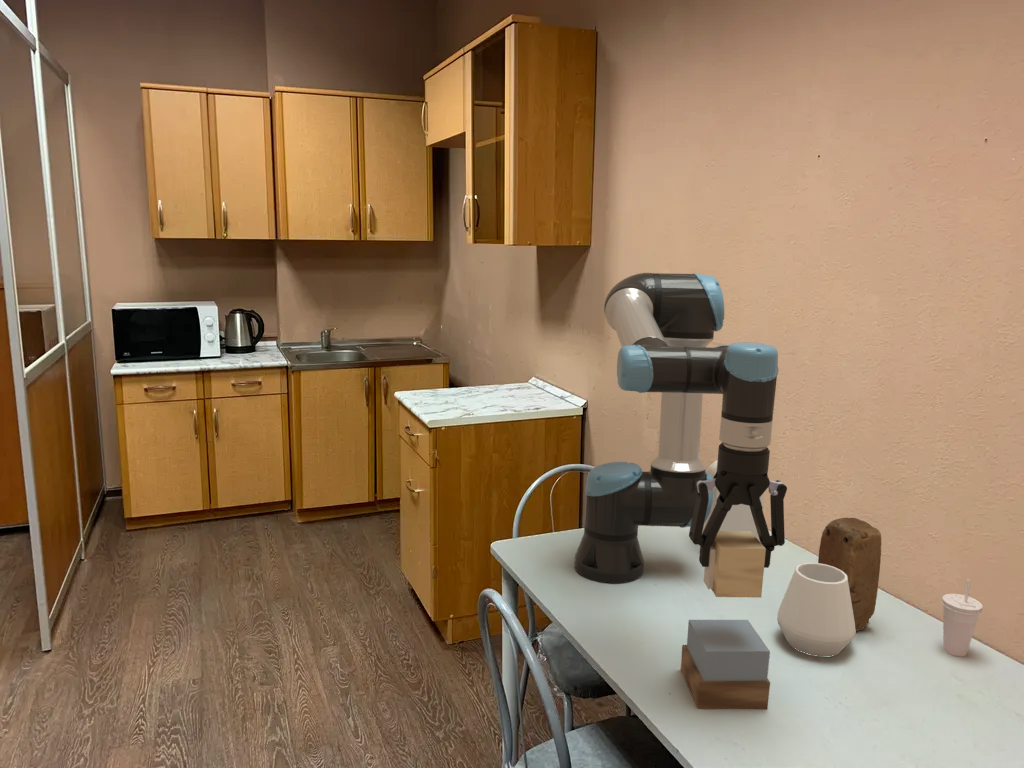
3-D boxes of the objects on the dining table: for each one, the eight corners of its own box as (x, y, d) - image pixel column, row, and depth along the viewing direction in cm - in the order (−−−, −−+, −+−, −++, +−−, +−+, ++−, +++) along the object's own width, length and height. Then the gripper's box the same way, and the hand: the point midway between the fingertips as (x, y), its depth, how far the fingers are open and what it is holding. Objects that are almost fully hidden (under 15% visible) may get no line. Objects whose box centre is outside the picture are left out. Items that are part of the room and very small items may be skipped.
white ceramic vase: (846, 672, 132) (855, 596, 130) (766, 648, 139) (773, 576, 136) (859, 638, 143) (867, 568, 141) (784, 618, 150) (791, 551, 148)
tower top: (686, 647, 130) (688, 619, 129) (745, 647, 130) (747, 619, 129) (703, 680, 120) (706, 651, 119) (767, 680, 121) (769, 651, 120)
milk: (761, 562, 176) (771, 451, 171) (710, 560, 177) (719, 450, 172) (746, 541, 188) (755, 437, 183) (698, 540, 188) (706, 436, 183)
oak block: (704, 576, 126) (707, 530, 124) (746, 577, 126) (750, 531, 125) (716, 596, 119) (720, 548, 118) (761, 597, 119) (765, 548, 118)
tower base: (680, 671, 132) (682, 644, 131) (744, 672, 132) (746, 645, 131) (697, 710, 121) (699, 681, 120) (767, 711, 121) (770, 682, 120)
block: (876, 631, 146) (889, 531, 142) (842, 636, 144) (854, 534, 140) (838, 605, 156) (849, 511, 153) (806, 608, 154) (816, 513, 151)
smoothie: (960, 663, 136) (972, 589, 133) (927, 646, 141) (937, 574, 139) (983, 655, 139) (994, 582, 136) (949, 638, 144) (959, 568, 141)
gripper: (685, 450, 114) (675, 595, 118) (819, 453, 115) (804, 597, 119) (673, 437, 121) (664, 574, 126) (799, 439, 122) (786, 576, 126)
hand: (732, 585), depth 122 cm, fingers closed on oak block, 7 cm apart
